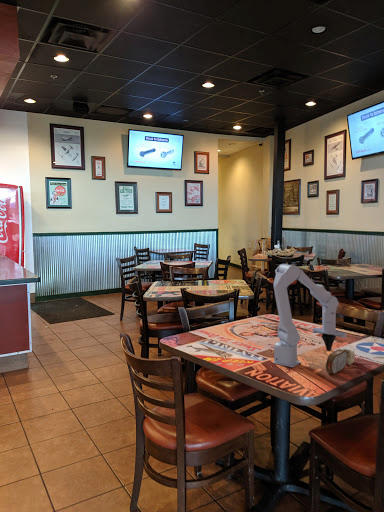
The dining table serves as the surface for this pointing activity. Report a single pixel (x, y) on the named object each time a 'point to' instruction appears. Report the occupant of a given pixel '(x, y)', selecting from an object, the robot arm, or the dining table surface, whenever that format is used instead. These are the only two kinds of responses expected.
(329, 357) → the tin
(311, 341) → the dining table surface
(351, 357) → the letter cube
